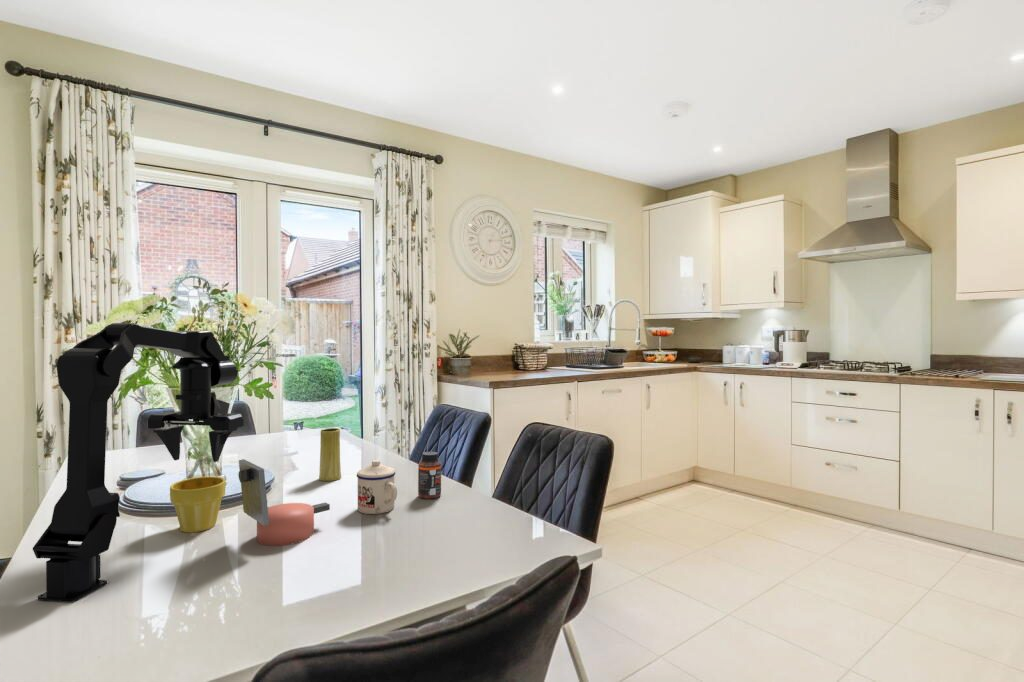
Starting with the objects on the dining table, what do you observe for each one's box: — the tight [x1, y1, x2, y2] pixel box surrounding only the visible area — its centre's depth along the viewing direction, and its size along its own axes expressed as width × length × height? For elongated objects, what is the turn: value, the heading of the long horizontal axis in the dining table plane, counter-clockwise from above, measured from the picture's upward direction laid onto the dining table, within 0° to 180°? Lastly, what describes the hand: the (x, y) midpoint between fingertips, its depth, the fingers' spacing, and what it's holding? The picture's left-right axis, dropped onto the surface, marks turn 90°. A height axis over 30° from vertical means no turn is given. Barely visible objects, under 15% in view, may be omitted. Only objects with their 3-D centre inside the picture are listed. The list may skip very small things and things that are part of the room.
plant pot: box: [169, 475, 226, 533], centre depth 115 cm, size 10×10×10 cm
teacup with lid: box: [356, 459, 398, 515], centre depth 127 cm, size 12×9×12 cm
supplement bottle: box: [417, 451, 442, 500], centre depth 138 cm, size 6×6×11 cm
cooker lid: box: [237, 459, 269, 526], centre depth 105 cm, size 11×11×3 cm
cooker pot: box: [256, 502, 331, 547], centre depth 112 cm, size 15×11×5 cm
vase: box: [318, 427, 342, 482], centre depth 153 cm, size 6×6×14 cm
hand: (196, 460), depth 114 cm, fingers open, 9 cm apart
